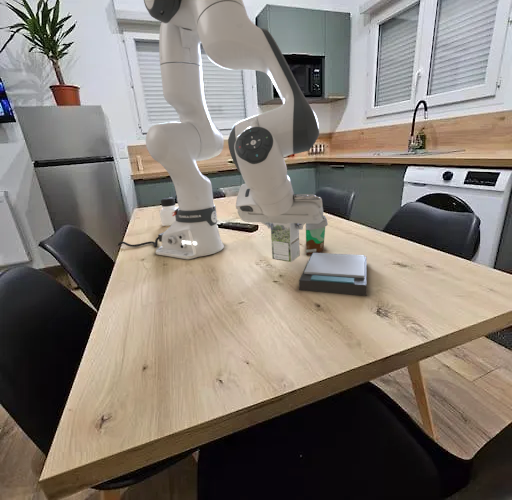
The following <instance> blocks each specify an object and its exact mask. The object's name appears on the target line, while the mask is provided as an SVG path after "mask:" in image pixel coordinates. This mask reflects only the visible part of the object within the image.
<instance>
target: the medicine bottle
mask: <svg viewBox="0 0 512 500" xmlns="http://www.w3.org/2000/svg"><path fill="white" fill-rule="evenodd" d="M160 203H161V204H160V205H161V209H160V210H159V212H158V213H159V219H160V223H161V226H162V227H170V226H171V225H172V224H173V223H174V222H175V221H176V215H175V216H172V215H173V214H174V213H173V212H175V211H176V210H178V209H179V206H176V200H175V198H174V197H164V198H161V200H160Z"/></svg>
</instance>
